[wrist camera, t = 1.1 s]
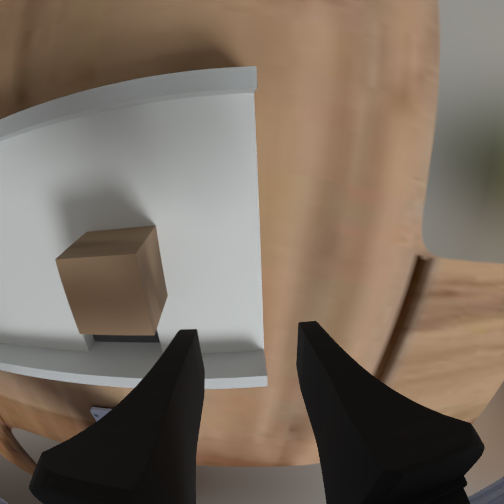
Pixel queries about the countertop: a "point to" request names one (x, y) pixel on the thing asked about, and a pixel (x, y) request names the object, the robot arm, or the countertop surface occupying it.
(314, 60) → the countertop surface
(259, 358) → the tray
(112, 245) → the walnut block
